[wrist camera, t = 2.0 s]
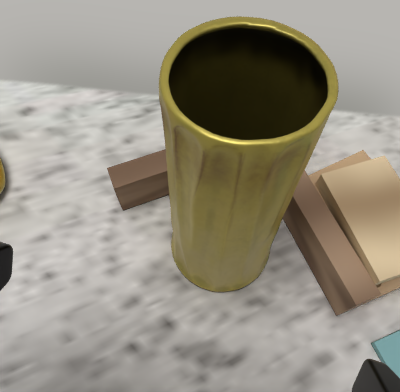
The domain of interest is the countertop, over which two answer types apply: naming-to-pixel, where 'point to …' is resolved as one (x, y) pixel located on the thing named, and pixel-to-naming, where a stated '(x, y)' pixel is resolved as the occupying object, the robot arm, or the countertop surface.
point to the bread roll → (2, 177)
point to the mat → (389, 351)
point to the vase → (238, 140)
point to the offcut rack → (317, 221)
